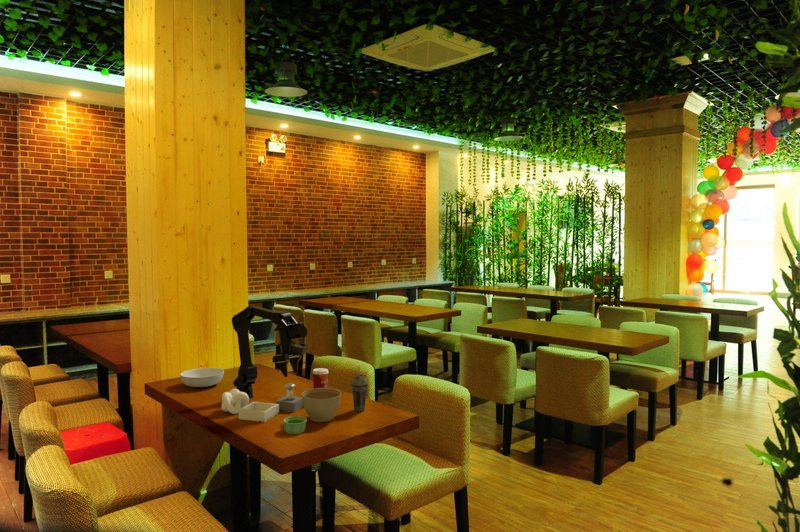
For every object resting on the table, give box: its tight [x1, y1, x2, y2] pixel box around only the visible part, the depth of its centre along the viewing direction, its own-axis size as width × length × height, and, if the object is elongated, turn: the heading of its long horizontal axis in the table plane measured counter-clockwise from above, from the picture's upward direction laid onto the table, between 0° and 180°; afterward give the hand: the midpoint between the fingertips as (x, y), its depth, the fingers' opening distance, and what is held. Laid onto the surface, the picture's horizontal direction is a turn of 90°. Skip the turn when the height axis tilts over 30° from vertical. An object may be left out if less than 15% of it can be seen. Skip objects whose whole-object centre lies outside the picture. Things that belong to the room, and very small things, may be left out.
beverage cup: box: [351, 365, 369, 413], centre depth 236 cm, size 7×7×20 cm
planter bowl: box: [301, 387, 342, 423], centre depth 224 cm, size 16×16×11 cm
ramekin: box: [283, 415, 308, 435], centre depth 210 cm, size 9×9×4 cm
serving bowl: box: [179, 367, 225, 388], centre depth 273 cm, size 21×21×7 cm
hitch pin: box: [284, 382, 296, 401], centre depth 238 cm, size 5×5×10 cm
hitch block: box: [275, 395, 304, 413], centre depth 238 cm, size 9×9×4 cm
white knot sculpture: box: [221, 388, 250, 415], centre depth 233 cm, size 11×12×9 cm
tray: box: [238, 401, 280, 423], centre depth 226 cm, size 12×12×4 cm
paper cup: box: [311, 367, 329, 389], centre depth 252 cm, size 8×8×14 cm
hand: (291, 375), depth 238 cm, fingers open, 9 cm apart
